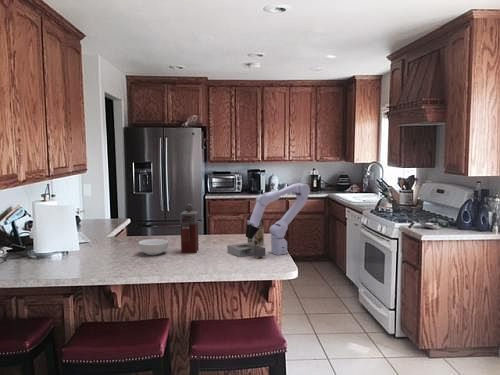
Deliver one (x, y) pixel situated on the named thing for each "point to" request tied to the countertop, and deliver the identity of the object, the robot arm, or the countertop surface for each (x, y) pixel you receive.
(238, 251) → the socket plate
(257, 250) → the plug
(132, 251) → the countertop surface
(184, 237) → the glass bottle
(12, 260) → the countertop surface
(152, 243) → the cereal bowl
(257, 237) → the coffee box
